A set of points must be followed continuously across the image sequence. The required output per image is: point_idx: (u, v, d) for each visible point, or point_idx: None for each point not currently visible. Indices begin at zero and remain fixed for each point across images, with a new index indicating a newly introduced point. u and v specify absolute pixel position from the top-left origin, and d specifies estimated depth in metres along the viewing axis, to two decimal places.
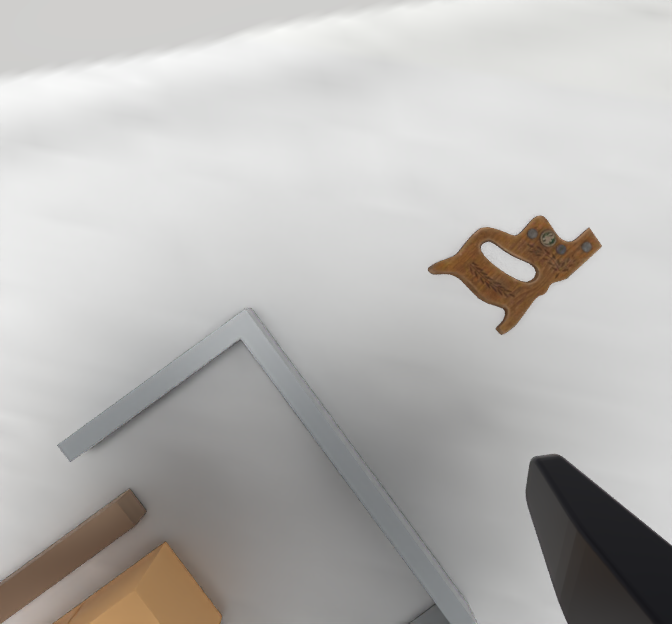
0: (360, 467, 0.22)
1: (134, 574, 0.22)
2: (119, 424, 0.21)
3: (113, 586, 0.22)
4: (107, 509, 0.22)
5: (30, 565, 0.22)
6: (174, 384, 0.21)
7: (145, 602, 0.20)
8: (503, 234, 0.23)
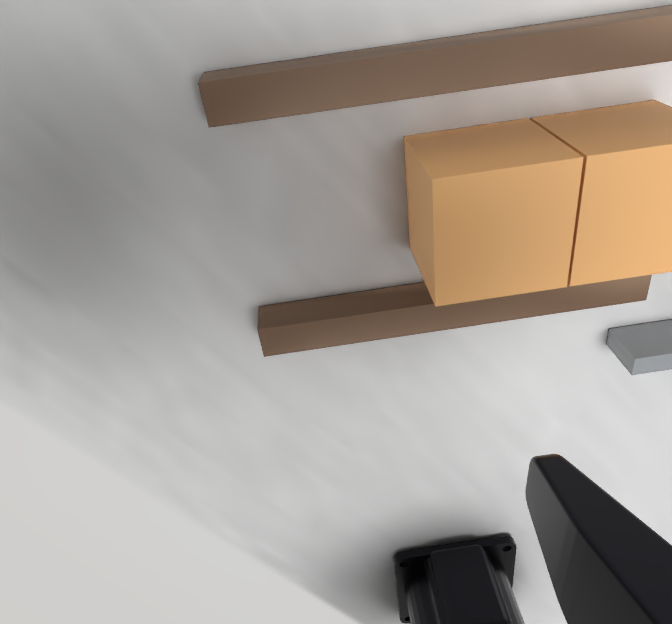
0: None
1: (657, 117, 0.16)
2: None
3: (607, 119, 0.17)
4: None
5: (558, 32, 0.15)
6: None
7: None
8: None
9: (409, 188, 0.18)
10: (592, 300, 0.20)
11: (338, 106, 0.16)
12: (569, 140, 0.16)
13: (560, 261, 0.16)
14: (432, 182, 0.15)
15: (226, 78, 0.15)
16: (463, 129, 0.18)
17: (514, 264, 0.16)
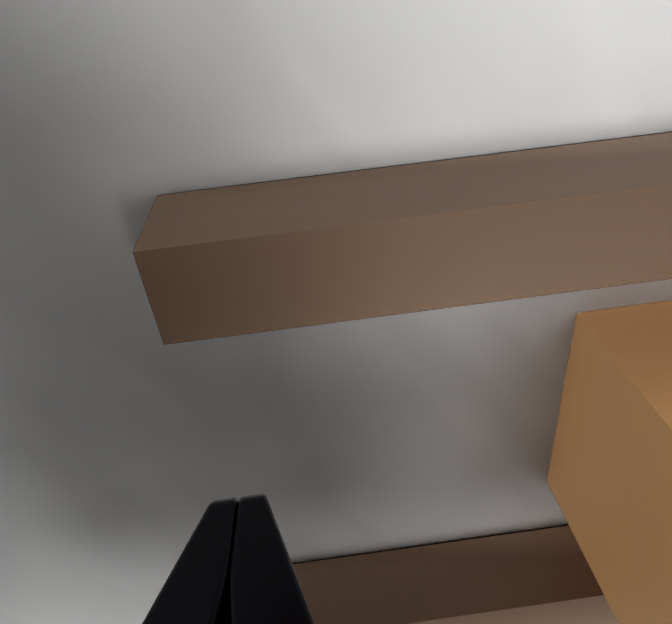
0: None
1: None
2: None
3: None
4: None
5: None
6: None
7: None
8: None
9: (577, 409, 0.09)
10: None
11: (481, 298, 0.06)
12: None
13: None
14: None
15: (207, 239, 0.06)
16: None
17: None
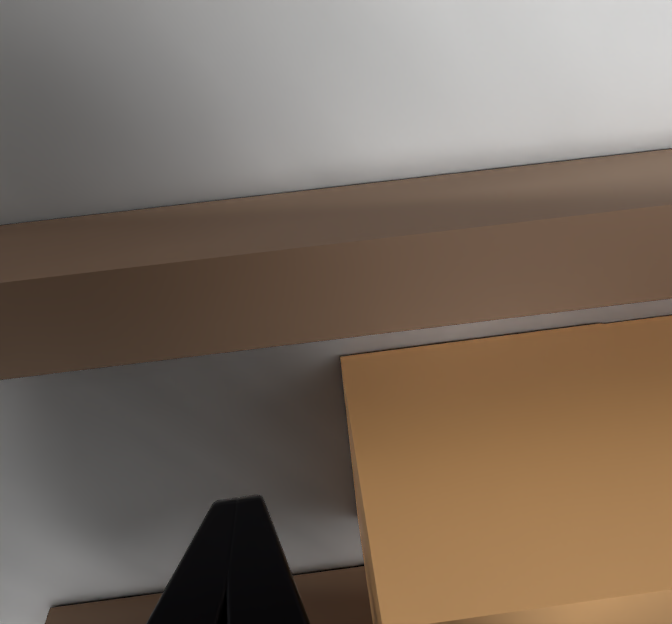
0: None
1: None
2: None
3: None
4: None
5: (665, 208, 0.06)
6: None
7: None
8: None
9: (352, 457, 0.09)
10: None
11: (103, 362, 0.06)
12: None
13: None
14: None
15: None
16: (468, 352, 0.08)
17: None
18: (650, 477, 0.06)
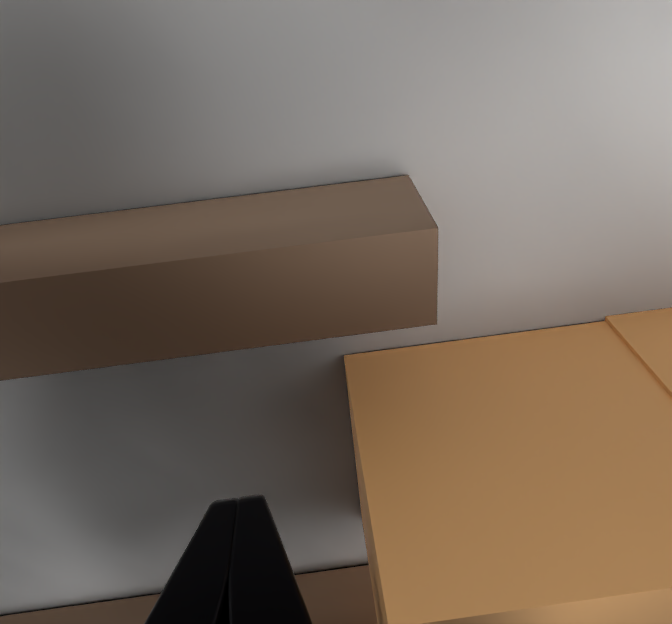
0: None
1: None
2: None
3: None
4: (392, 237, 0.06)
5: (24, 282, 0.06)
6: None
7: None
8: None
9: (356, 456, 0.09)
10: None
11: None
12: None
13: None
14: None
15: None
16: (472, 350, 0.08)
17: None
18: (656, 475, 0.06)
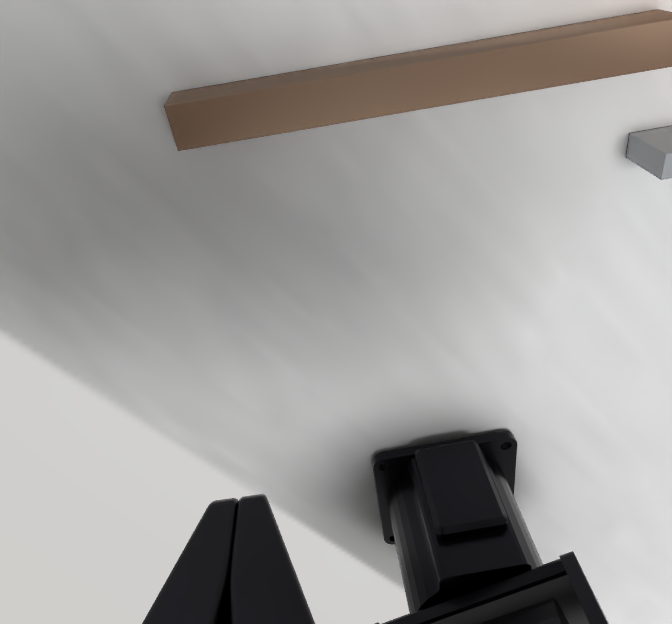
0: None
1: None
2: None
3: None
4: None
5: None
6: None
7: None
8: None
9: None
10: (611, 64, 0.15)
11: None
12: None
13: None
14: None
15: None
16: None
17: None
18: None
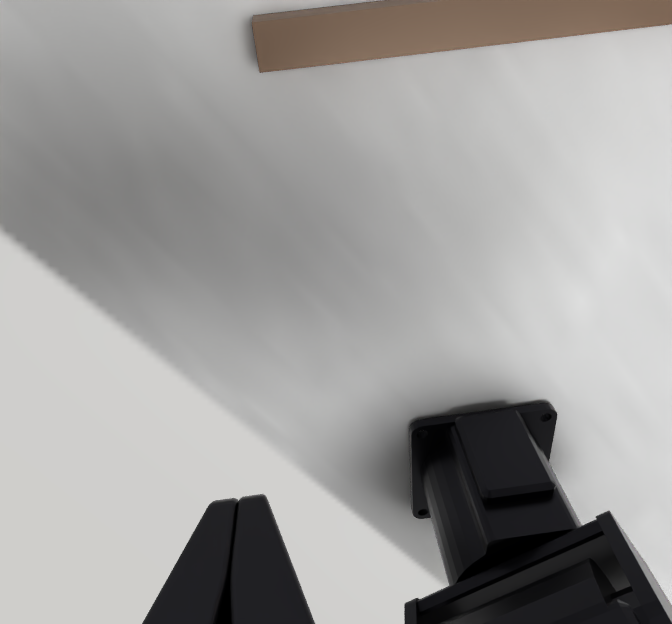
0: None
1: None
2: None
3: None
4: None
5: None
6: None
7: None
8: None
9: None
10: None
11: None
12: None
13: None
14: None
15: None
16: None
17: None
18: None
